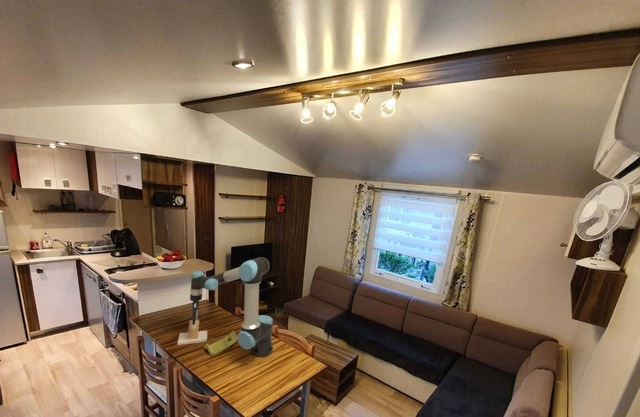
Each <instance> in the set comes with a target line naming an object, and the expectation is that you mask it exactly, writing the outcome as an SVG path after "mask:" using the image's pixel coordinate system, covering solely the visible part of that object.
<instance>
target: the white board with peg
mask: <svg viewBox="0 0 640 417" xmlns="http://www.w3.org/2000/svg"><path fill="white" fill-rule="evenodd" d="M188 333H189V331H188V332H180V333H179V336H178V339H177V346H181V345H187V344H188V345H189V344H198V343H199V344H200V343H205V342H207V340H208V330H200V331H198V339H190V340H188Z"/></svg>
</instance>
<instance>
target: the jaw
mask: <svg viewBox="0 0 640 417" xmlns="http://www.w3.org/2000/svg"><path fill="white" fill-rule="evenodd" d="M188 324H189V325H188V332H189V333H188V332H187V333H188V340H190V339H198V331H199V327H200V319H196V328H195V329H191V325H192V320H191V319H190V320H189V323H188Z"/></svg>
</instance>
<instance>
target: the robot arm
mask: <svg viewBox="0 0 640 417" xmlns="http://www.w3.org/2000/svg"><path fill="white" fill-rule="evenodd" d="M270 267H271V266H270V261H269V260H268V259H267V258H265V257H264V256H263V257H261V256H259V257H257V258H253V259H249V260H247V261H244V262H243V263H242V264H241V265H240V266H239V267H238V266H237V267H236V268H232V269H230V270H226V271H222V272H221V273H218V274H214V275H212V276H205V274H204V272H203V271H201V270H195V271H193V272H192V273H191V277H190V279H191V280H190V289H189V292H190V295H189V300H190V301H192V304H191V305H192V306H191V307H192V314H191V315H192V316H191V318H190V321H191V320H192V325H191V329H195V328H196V320H198V313H199V312H198V310H200V307H199V305H200V301H201V300H202V299H203V291H204V290H203V289H205V290H207V291H215V290H216V288H218V286H220V285H222V284H227V283H229V282H232V281H235V280H239V279H240V280H241V281H242V284H244V305H243V306H244V308H243V311H244V314H243V315H244V316H243V317H244V318H243V322H242V323H241V328H240V329H241V330H240V331H239V332H238V334H237V342H238V344H239V345H240V347H241V348H243V349H244V350H249V352H250V354H251V355H252V356H254V357H258V358H264V357H265V358H266V357H267V356H269V355H271V354H272V353H273V351H274V345H273V341H272V333H273V326H274V325H273V324H274V323H273V322H274V320H273V318H272V317H271V316H269V315H266V314H264V315H263V314H261V315H259V309H260V308H259V303H260V302H259V301H260V296H259V295H260V284H261V282H262V280H263V279H262V278H263V277H262V276H264V275H266V274H267V273H268V272H269V270H270Z"/></svg>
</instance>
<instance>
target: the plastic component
mask: <svg viewBox="0 0 640 417" xmlns="http://www.w3.org/2000/svg"><path fill="white" fill-rule="evenodd" d="M237 336H238V334H237V333H236V332H235V331H234V330H232V331H231V332H229V333H228V334H227V335H225V336H224V337H223V338H222V339H219V340H216V341H215V342H212V343H211V344H209V343H206V344H205V345H204V347H203V348H204V350H207V351H208V352H209V355H210V356H216V355H218V354H219V355H220V354H221V353H222V352H224V351H226V350H228V349H229V348H230V347H231V346H233V345H234V344H235V343H236V342H238V340H237Z"/></svg>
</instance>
